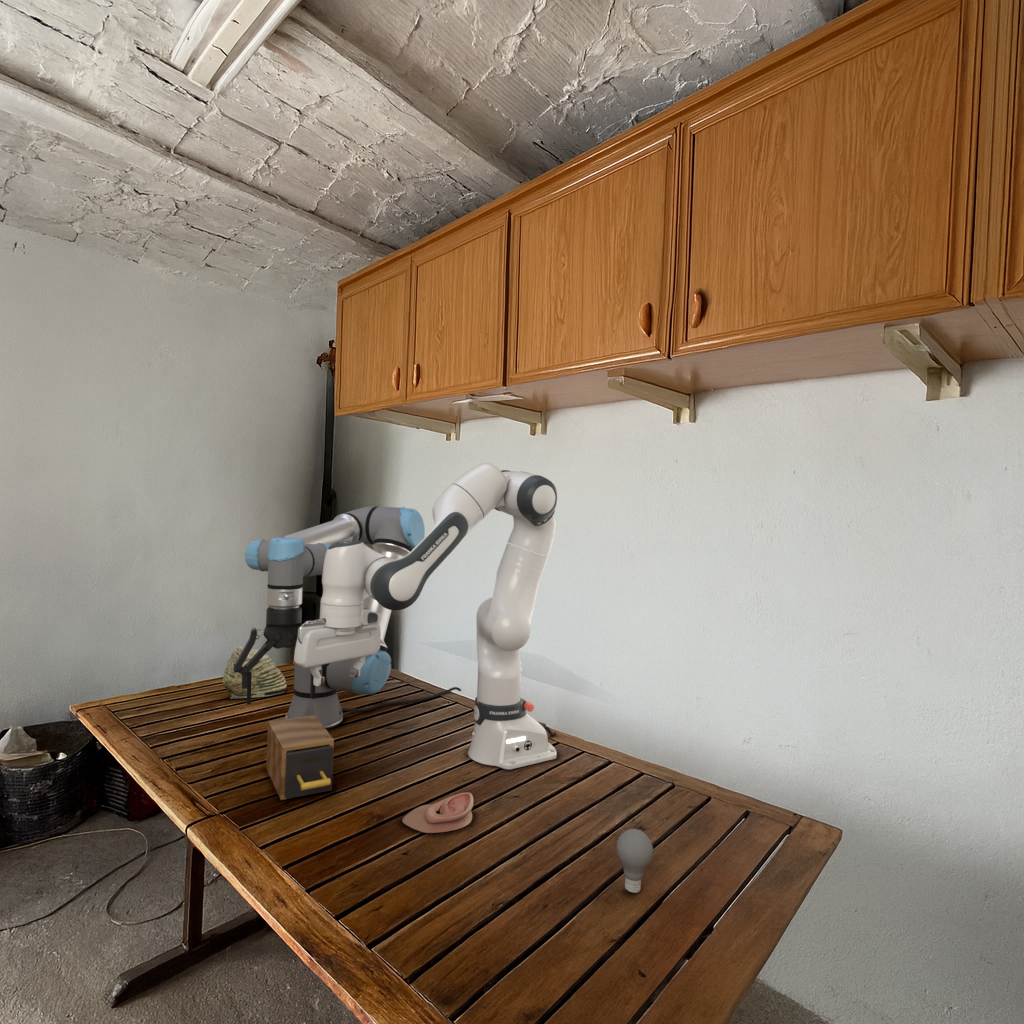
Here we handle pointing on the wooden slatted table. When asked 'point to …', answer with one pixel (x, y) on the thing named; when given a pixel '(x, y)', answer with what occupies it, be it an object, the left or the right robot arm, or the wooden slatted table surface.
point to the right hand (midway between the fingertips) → (337, 680)
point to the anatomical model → (442, 814)
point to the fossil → (254, 677)
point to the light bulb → (634, 857)
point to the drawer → (308, 771)
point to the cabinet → (292, 744)
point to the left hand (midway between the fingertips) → (281, 700)
